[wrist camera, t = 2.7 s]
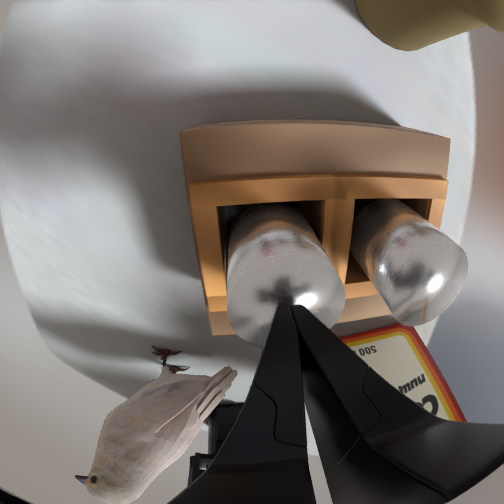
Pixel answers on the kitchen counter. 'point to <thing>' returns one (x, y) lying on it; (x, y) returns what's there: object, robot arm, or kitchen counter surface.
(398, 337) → the baking soda box
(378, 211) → the steel peg
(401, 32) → the olive pawn
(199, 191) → the wooden compartment holder
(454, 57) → the kitchen counter surface
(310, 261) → the steel peg
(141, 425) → the bird
